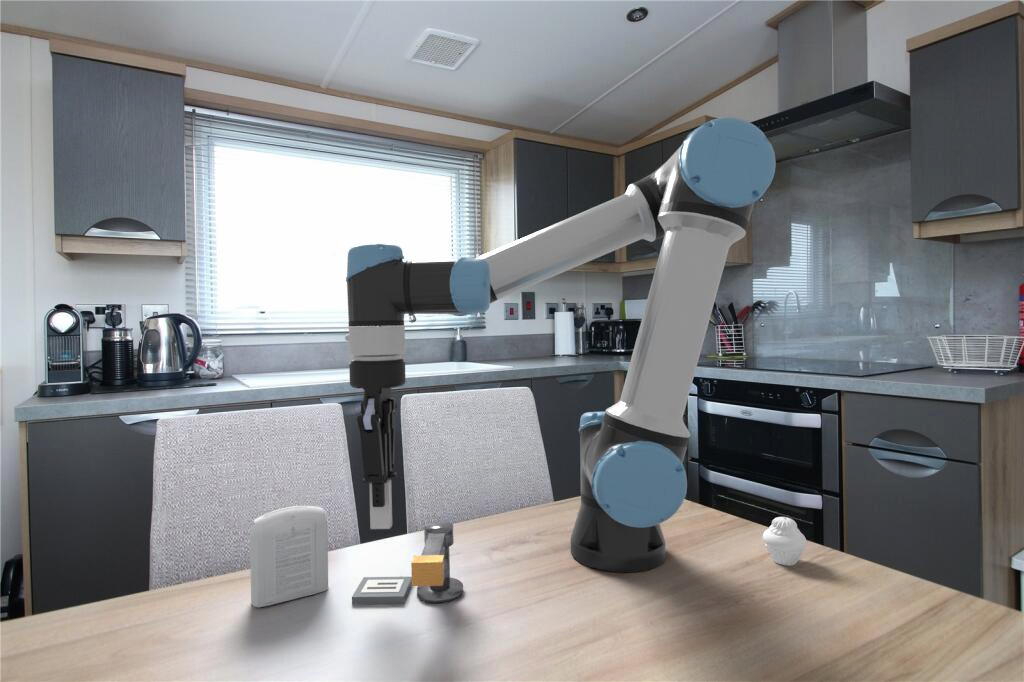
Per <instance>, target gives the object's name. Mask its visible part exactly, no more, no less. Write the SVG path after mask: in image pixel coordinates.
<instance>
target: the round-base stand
mask: <svg viewBox="0 0 1024 682" xmlns="http://www.w3.org/2000/svg"><path fill="white" fill-rule="evenodd" d="M450 554H451V553H450V547H447V548H445V552H444V582H443V586H416V596H417V599H419V601H421V602H423V603H426V604H432V605H442V604H443V605H444V604H448V603H451V602H454V601H456V600H458V599H459V598H461V597H462V596H463V595H464V583H463V582H462V581H461V580H460V579H458V578H455V577H451V568H450V567H451V566H450V564H451V563H450V562H451V561H450Z"/></svg>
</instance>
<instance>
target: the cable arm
mask: <svg viewBox="0 0 1024 682" xmlns="http://www.w3.org/2000/svg"><path fill="white" fill-rule="evenodd" d="M423 530H424V531H423V533H424V536H423V537H424V546H423V548H422V552H421V555H413V558H412V561H411V563H410V564H411V577H412V585H411V587H418V586H443V582H444V552H445V548H447V547H449V548H450V547H452V546H453V545H454V543H455V542H454V541H455V540H454V538H455V537H454V524H453V523H452V522H449V521H445V520H439V521H437V520H436V521H432V522H429V523H426V524H425V525H424V529H423Z"/></svg>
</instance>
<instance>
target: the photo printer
mask: <svg viewBox="0 0 1024 682" xmlns="http://www.w3.org/2000/svg"><path fill="white" fill-rule="evenodd" d="M328 534H329V533H328V519H327V515H326V511H325V509H323V507H321V506H316V505H315V506H314V505H294V506H287V507H282V508H277V509H275V510H272V511H269V512H267V513H264V514H262V515H260V516H257V517H256V518H254V519H253V520H252V522H251V529H250V533H249V548H250V551H249V552H250V553H249V554H250V555H249V556H250V557H249V558H250V561H249V562H250V567H249V568H250V603H251V604H250V605H252V607H254V608H261V607H262V608H263V607H268V606H272V605H276V604H279V603H284V602H288V601H292V600H296V599H300V598H304V597H307V596H312V595H315V594H319V593H322V592H326V591H327V590H328V588H329V548H328V547H329V544H328V542H329V538H328Z"/></svg>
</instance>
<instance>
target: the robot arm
mask: <svg viewBox="0 0 1024 682" xmlns="http://www.w3.org/2000/svg"><path fill="white" fill-rule="evenodd" d="M775 155H776V153H775V150H774V148H773V145H772V143H771V142H770V141H769V140H768V138H767V136H766V135H765V133H764V131H763V130H761V129H760V128H759V127H758V126H756V125H755V124H753V123H752V122H749V121H747V120H745V119H743V118H738V117H729V116H727V117H724V116H723V117H719V118H715V119H711V120H709V121H706V122H704V123H703V124H701V125H700V126H699V127H696V128H695V129H693V131H691V132H690V133H689V134H687V136H686V137H685V138H684V140H683V142H682V144H681V146H679V147H678V148H677V150H676V151H675V152H674V153H673V154H672V155H671V156H669V158H668V159H667V161H665V162H664V163H663V164H662V165H660V166H659V167H658V168H657V169H655V171H653V172H652V173H650V174H649V175H647V176H645V177H643V178H641V179H640V180H636V181H634V182H633V183H631V184H629V185H628V186H627V189H626V191H625V193H623V194H622V195H619V196H616V197H615V198H612V199H610V200H608V201H605V202H603V203H601V204H598V205H596V206H593V207H591V208H589V209H587V210H585V211H582V212H580V213H577V214H575V215H573V216H570V217H568V218H566V219H564V220H560V221H559V222H556V223H553V224H552V225H550V226H548V227H545V228H543V229H540V230H538V231H535V232H533V233H531V234H528V235H526V236H524V237H521V238H520V239H519V238H518V239H517V240H515V241H512V242H511V243H508V244H504V245H503V246H500V247H498V248H496V249H493V250H491V251H490V252H487V253H484V254H482V255H479V256H478V257H476V258H469V257H466V256H465V257H460V258H440V259H439V258H434V259H433V258H432V259H408V258H405V256H404V255H403V252H404V251H403V249H402V248H401V247H400V246H399V245H396V244H392V243H391V244H390V243H361V244H357V245H353V246H352V247H350V249H349V250H348V252H347V263H346V264H347V266H346V267H347V268H346V269H347V270H346V271H347V272H346V277H345V282H346V291H347V294H346V295H347V311H348V312H347V315H348V333H347V334H346V335H345V337H344V339H345V340H346V341H347V342H349V343H348V346H349V347H348V348H349V349H348V350H349V351H348V352H349V353H348V354H349V355H350V356H351V357H353V360H350V362H349V365H348V367H349V369H348V371H349V385H350V387H352V388H354V389H358V390H359V389H362V390H364V392H363V401H361V402H360V413H361V414H358V415H357V419H356V422H357V425H358V430H359V435H360V445H361V456H362V467H363V477H364V478H363V479H362V483H363V484H369V486H368V487H369V523H370V524H369V526H370V527H369V528H370V530H390V529H391V528H392V526H393V503H392V502H393V501H392V500H393V498H392V497H393V496H392V493H393V492H392V479H393V478H394V479H395V478H397V477H398V472H396V471H394V470H395V466H396V464H395V460H396V459H395V457H396V456H395V455H396V453H395V452H396V451H395V450H396V420H397V419H396V418H397V417H396V416H397V408H398V403H397V402H396V399H395V398H393V393H392V388H399V387H402V386H404V385H405V384H406V361H405V360H404V358H402V356H403V355H405V354H406V336H405V335H406V332H405V331H406V330H405V329H406V328H405V315H416V314H417V315H418V314H419V315H452V316H456V317H465V316H467V315H472V314H476V313H477V314H482V313H486V312H487V311H488V310H489V308H490V305H491V304H493V303H494V302H496V301H498V300H501V299H503V298H505V297H508V296H510V295H514V294H515V293H518V292H520V291H522V290H524V289H527V288H529V287H531V286H534V285H537V284H539V283H541V282H544V281H546V280H549V279H550V278H553V277H555V276H558V275H560V274H562V273H565V272H567V271H570V270H571V269H575V268H577V267H578V266H582V265H583V264H586V263H588V262H591V261H593V260H595V259H598V258H601V257H602V256H605V255H607V254H610V253H612V252H614V251H617V250H620V249H621V248H623V247H626V246H628V245H631V244H633V243H636V242H638V241H641V240H645V241H648V242H650V243H652V242H654V241H656V240H659V239H661V238H663V240H662V244H661V248H660V250H659V255H658V258H657V263H656V266H655V270H654V273H653V276H652V277H653V278H652V281H651V284H650V287H649V292H648V296H647V299H646V302H645V306H644V310H643V313H642V318H641V321H640V326H639V328H638V332H637V333H638V334H637V337H636V340H635V344H634V347H633V351H632V354H631V359H630V362H629V366H628V369H627V373H626V377H625V381H624V383H623V384H624V385H623V388H622V391H621V396H620V399H619V401H618V402H617V403H614V404H612V405H611V406H610V407H607V408H606V409H605V411H588V412H585V413H583V414H581V416H580V420H579V421H580V422H579V428H578V434H579V446H580V447H579V451H580V452H579V453H580V454H579V455H580V456H579V457H580V458H579V460H580V461H579V462H580V463H579V464H580V465H579V466H580V471H579V473H580V507H579V509H578V513H577V516H576V519H575V522H574V526H573V528H572V532H571V534H570V554H571V556H572V557H573V559H575V560H576V561H577V562H579V563H580V564H583V565H585V566H587V567H590V568H594V569H597V570H602V571H607V572H615V573H632V572H633V573H636V572H643V571H648V570H651V569H653V568H656V567H659V566H660V565H662V564H663V562H664V561H665V560H666V557H667V547H666V545H667V544H666V540H665V536H664V533H663V530H662V528H661V524H662V523H664V522H665V521H668V520H669V519H671V518H672V517H673V516H674V515H675V514H676V513H677V512H678V511H679V509H680V507H682V505H683V503H684V501H685V499H686V495H687V489H688V479H687V473H686V469H685V466H684V464H683V463H684V459H685V455H686V451H687V449H688V445H689V444H688V443H689V440H690V437H691V433H690V431H689V430H688V429H689V428H687V426H686V424H685V423H684V418H683V416H684V414H685V411H686V406H687V403H688V399H689V395H690V392H691V389H692V385H693V380H694V377H695V374H696V370H697V367H698V363H699V359H700V355H701V352H702V349H703V344H704V340H705V337H706V334H707V330H708V327H709V322H710V319H711V316H712V313H713V308H714V304H715V301H716V297H717V294H718V291H719V286H720V283H721V279H722V276H723V271H724V269H725V265H726V261H727V259H728V258H727V257H728V253H729V249H730V247H732V245H733V244H735V243H736V242H738V241H739V240H741V239H743V238H745V237H746V234H747V230H748V227H749V222H750V219H751V216H752V212H753V209H754V205H755V202H757V201H758V200H759V199H760V198H762V197H763V195H765V193H766V191H767V190H768V189H769V187H770V185H771V184H772V181H773V179H774V176H775V173H776V166H777V165H776V164H777V163H776V156H775Z"/></svg>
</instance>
